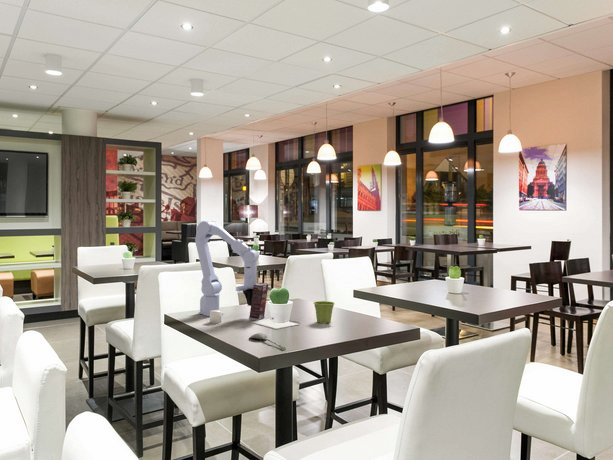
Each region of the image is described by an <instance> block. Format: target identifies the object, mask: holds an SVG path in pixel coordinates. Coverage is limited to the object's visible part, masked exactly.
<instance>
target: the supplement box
mask: <svg viewBox="0 0 613 460" xmlns="http://www.w3.org/2000/svg"><path fill="white" fill-rule="evenodd" d="M268 291H269V283H265V282H257V284H254V287H253V294H252V302H251V306H250V311H249V316H248V317H249V318H248V320H250V321H258V320H263V319H265V315H266V314H265V313H266V305H267V298H268Z"/></svg>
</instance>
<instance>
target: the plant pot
mask: <svg viewBox="0 0 613 460" xmlns="http://www.w3.org/2000/svg"><path fill="white" fill-rule="evenodd" d="M313 304H314V308H315V316H316V317H315V318H316V322H317V323H319V324H327V323H328V324H330V323H331V322H332V315H333V309H334V305H335V302H333V301H325V300H319V301H314V302H313Z"/></svg>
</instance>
